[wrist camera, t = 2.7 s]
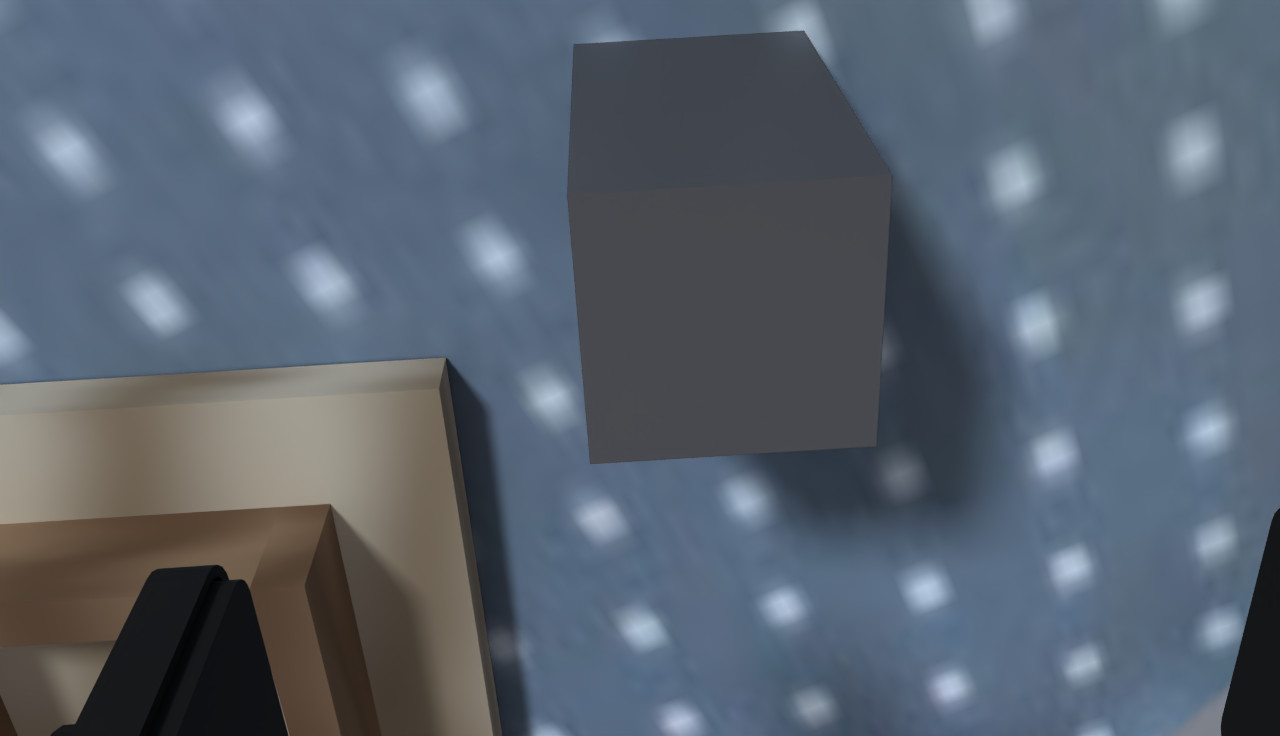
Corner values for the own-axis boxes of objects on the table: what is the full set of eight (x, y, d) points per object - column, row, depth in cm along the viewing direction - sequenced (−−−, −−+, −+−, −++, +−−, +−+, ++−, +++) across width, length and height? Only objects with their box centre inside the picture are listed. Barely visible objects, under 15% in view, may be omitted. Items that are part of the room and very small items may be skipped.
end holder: (445, 357, 24) (422, 463, 20) (516, 833, 31) (508, 967, 27) (-265, 400, 24) (-400, 514, 20) (-31, 868, 31) (-104, 1007, 27)
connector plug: (804, 30, 21) (892, 174, 15) (799, 242, 23) (876, 446, 17) (573, 44, 21) (566, 194, 15) (589, 254, 23) (589, 464, 17)
